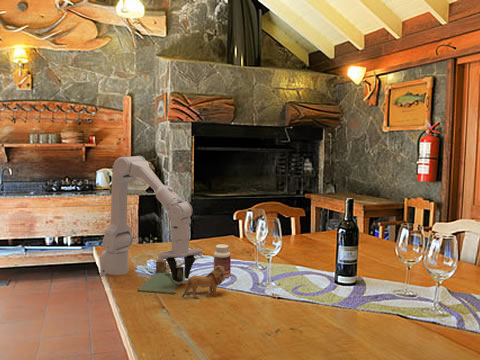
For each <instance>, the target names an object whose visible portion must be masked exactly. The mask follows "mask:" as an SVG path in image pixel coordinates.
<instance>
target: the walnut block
mask: <svg viewBox="0 0 480 360" xmlns="http://www.w3.org/2000/svg"><path fill="white" fill-rule="evenodd" d="M166 267H167V261H166V259H163V260H159V259H158V258H157V260H156V261H155V272H156V273H164V272H165V269H166ZM156 273H155V274H156Z"/></svg>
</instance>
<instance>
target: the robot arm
mask: <svg viewBox="0 0 480 360" xmlns="http://www.w3.org/2000/svg"><path fill="white" fill-rule="evenodd" d="M149 163H150V162H148V161H147V159H145V157H144V156H142V155H136V156H120V157H118V158H116V159H115V161H114V162H113V170H112V174H111V199H110V201H111V203H110V205H111V206H110V210H111V211H110V224H109V225H108V227H107V228H106V229H105V230H104V236H103V238H102V241H101V242H102V246H103V249H104V250H102V252H101V254H100V260H99V261H100V262H99V264H100V265H99V266H100V268H99V269H100V274H99V277H100V278H102V277H104V276H106V275H109V276H122V275H125V274H128V273H129V271H130V269H129V265H130V264H129V250H130V249H131V248H130V246H132V244H133V241H134V239H133V234H132V228H131V227H130V225H128V223H127V220H128V190H129V189H128V188H129V186H128V185H129V181H130V180H132V179H133V178H134V177H137V178H141V179H142V180H143V181H144V182H145V184H147V185H148V186H149V187H150V188H151V189H152V190H153V191H154V192H155V198H156V199H157V200H158V201H159V202H160V203H161V205H162V206H163V207H164V208H165V209H166V210H167V217H168V219H169V220H170V225H171V250H168V251H163V252H158V253H157V260H158V259H159V260H166V264H167V265H168V266H169V267H170V270H171V274H172V279H173V280H176V267H177V264H178V262H177V261H176V259H179V258H183V260H184V271H185V278H186V279H185V280H187V279H189V278H190V275H191V274H190V272H191V270H192V267H193V265H194V263H195V261H196V257H198V256H199V257H202V256H203V249H201V248H194V249H193V248H190V217H192V215H193V210H194V209H193V207H192V206H193V205H192V204H191V203H190V202H189V201H186V200H183V199H182V198H181V197H180V196H179V195H178V194H177V193H176V192H175V191H174V187H172V186H170V185H164V184H163V183H162V181H161V180H160V179H159V177H158V176H157V175H156V174H155V172H154V171H153V170H152V168H151V167H150V165H149ZM189 274H190V275H189Z"/></svg>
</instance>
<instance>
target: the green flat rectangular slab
mask: <svg viewBox="0 0 480 360" xmlns="http://www.w3.org/2000/svg"><path fill="white" fill-rule="evenodd" d="M191 274H192V271H190V274H189V276H190V275H191ZM185 280H187V279H186V278H185V270H183V282H184V281H185ZM180 285H181V284H179V285H175V284H174V282H173V281H172V279H171V278H170V277H169V275H166V274H165V272H164V273H155V274H154V275H153V276H150V278H149V279H147V281H145V282H144V283H143V284H142V285H141V286H139V287H138V288H137V293H144V294H145V293H146V294H158V295H160V294H161V295H169V296H170V295H171V296H173V295H174V294H175V290H176V289H177V288H178V287H180Z"/></svg>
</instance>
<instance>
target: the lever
mask: <svg viewBox="0 0 480 360" xmlns="http://www.w3.org/2000/svg"><path fill="white" fill-rule="evenodd" d="M183 271H184V266H182V265H181V266H177V265H176V280H173V279H172V274H171V270H170V267H169V265H168V266H166V269H165V274H166V275H169V277H170V278H171V279H172V281H173V282H174V284H175V285H179V284H180V285H183V283H184V281H183ZM180 285H179V286H180Z"/></svg>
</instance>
